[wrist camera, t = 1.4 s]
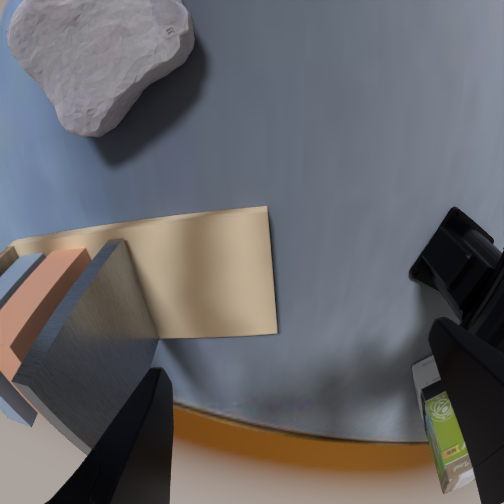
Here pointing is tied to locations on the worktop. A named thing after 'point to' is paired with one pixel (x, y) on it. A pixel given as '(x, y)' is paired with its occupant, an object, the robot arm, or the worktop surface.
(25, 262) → the book
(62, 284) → the book
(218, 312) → the wooden book rack
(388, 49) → the worktop surface
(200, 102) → the worktop surface
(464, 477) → the tea box
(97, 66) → the stone block
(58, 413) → the grey flat rectangular panel
